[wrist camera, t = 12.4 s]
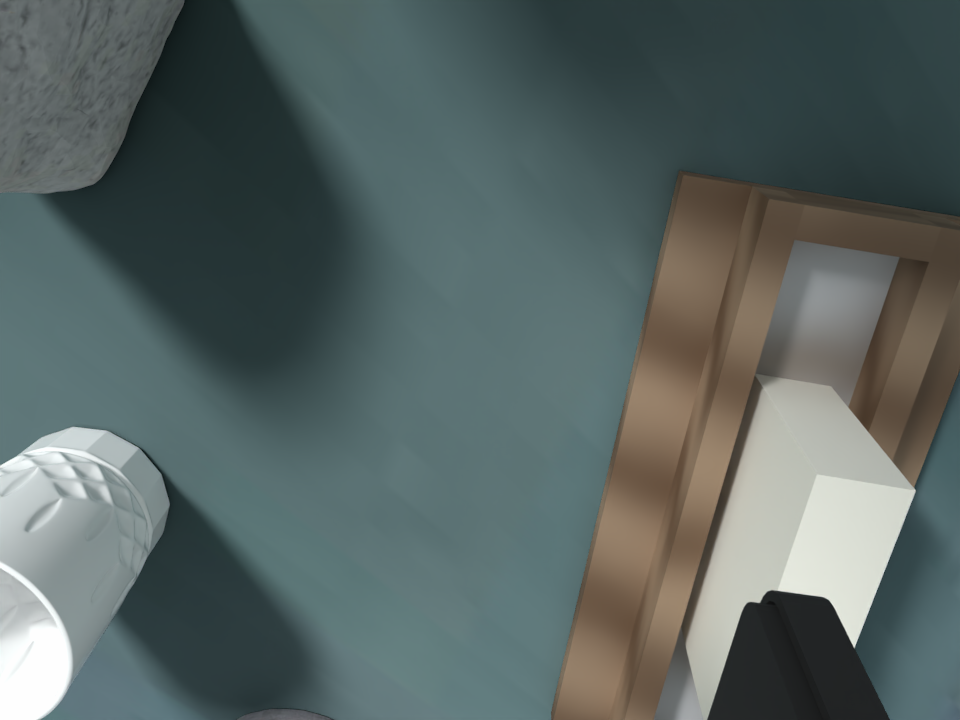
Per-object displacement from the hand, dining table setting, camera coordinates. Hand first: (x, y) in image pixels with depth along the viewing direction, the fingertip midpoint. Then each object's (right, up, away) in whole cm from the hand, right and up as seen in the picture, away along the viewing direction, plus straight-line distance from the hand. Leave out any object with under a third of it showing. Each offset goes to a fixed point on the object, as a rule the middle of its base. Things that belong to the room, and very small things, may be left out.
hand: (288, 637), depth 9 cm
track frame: (+13, -3, +28) cm, 31 cm away
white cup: (-15, -3, +30) cm, 33 cm away
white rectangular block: (+13, -3, +27) cm, 30 cm away
